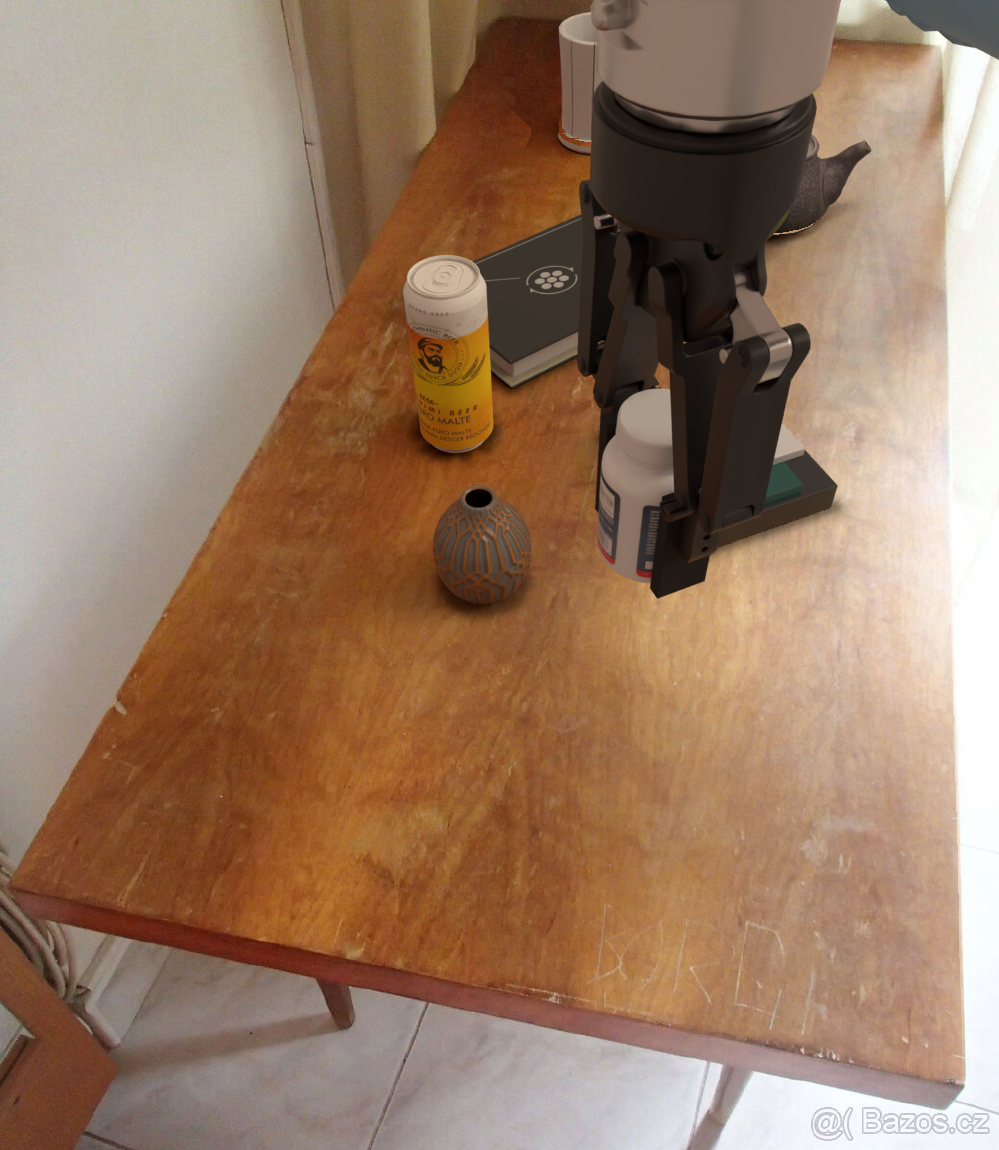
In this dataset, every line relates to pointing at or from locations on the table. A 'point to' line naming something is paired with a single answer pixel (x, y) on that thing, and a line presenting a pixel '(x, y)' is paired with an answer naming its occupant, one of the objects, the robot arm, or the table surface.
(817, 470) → the scale
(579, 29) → the cup
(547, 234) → the book
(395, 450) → the table surface
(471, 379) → the beer can
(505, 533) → the vase
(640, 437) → the pill bottle
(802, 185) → the teapot
